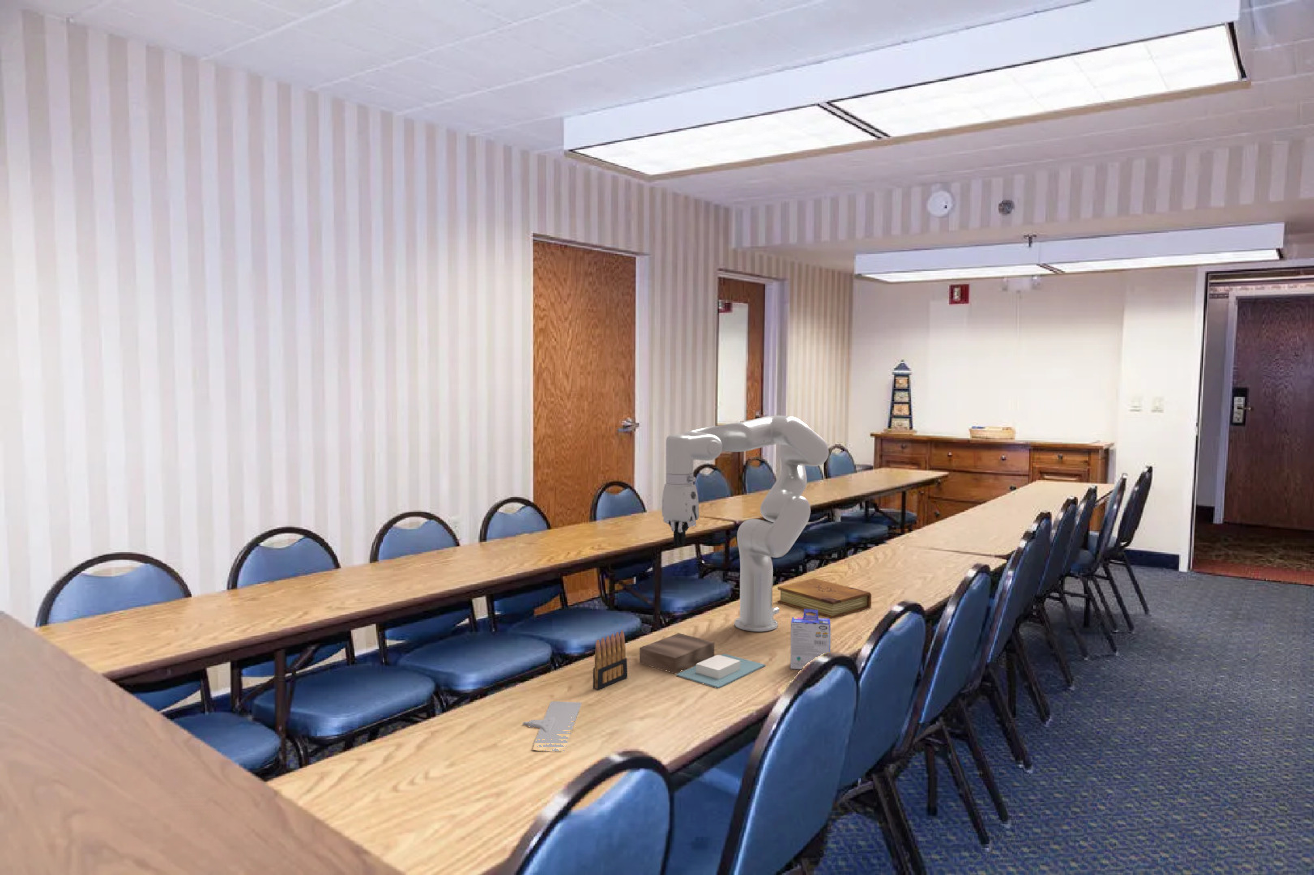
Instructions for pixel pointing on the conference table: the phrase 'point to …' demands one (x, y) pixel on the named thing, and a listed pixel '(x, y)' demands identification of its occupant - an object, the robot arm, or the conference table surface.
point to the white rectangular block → (718, 666)
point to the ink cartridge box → (809, 638)
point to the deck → (676, 652)
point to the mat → (745, 669)
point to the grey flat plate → (556, 723)
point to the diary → (824, 597)
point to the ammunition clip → (610, 662)
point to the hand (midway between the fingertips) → (679, 545)
